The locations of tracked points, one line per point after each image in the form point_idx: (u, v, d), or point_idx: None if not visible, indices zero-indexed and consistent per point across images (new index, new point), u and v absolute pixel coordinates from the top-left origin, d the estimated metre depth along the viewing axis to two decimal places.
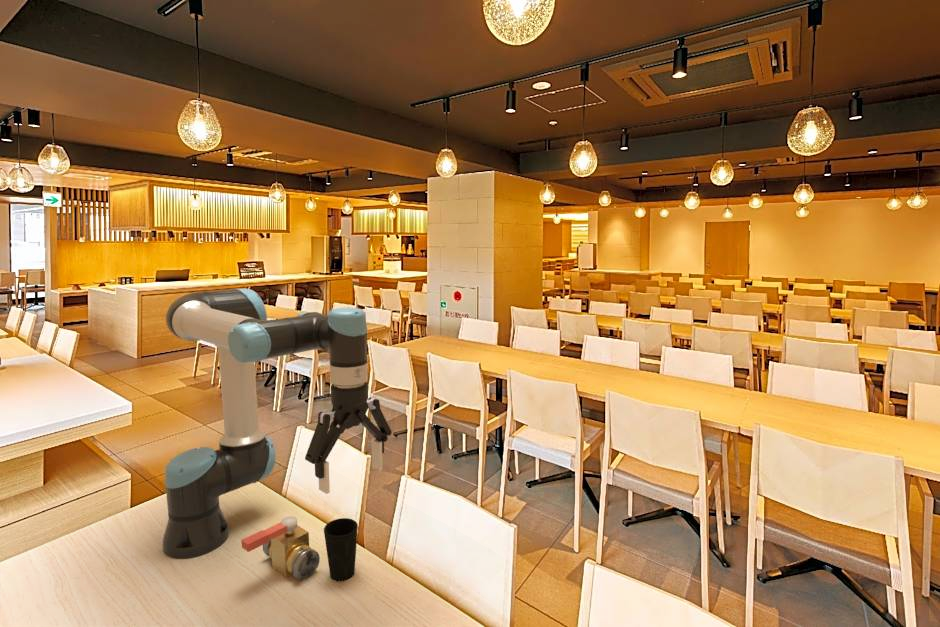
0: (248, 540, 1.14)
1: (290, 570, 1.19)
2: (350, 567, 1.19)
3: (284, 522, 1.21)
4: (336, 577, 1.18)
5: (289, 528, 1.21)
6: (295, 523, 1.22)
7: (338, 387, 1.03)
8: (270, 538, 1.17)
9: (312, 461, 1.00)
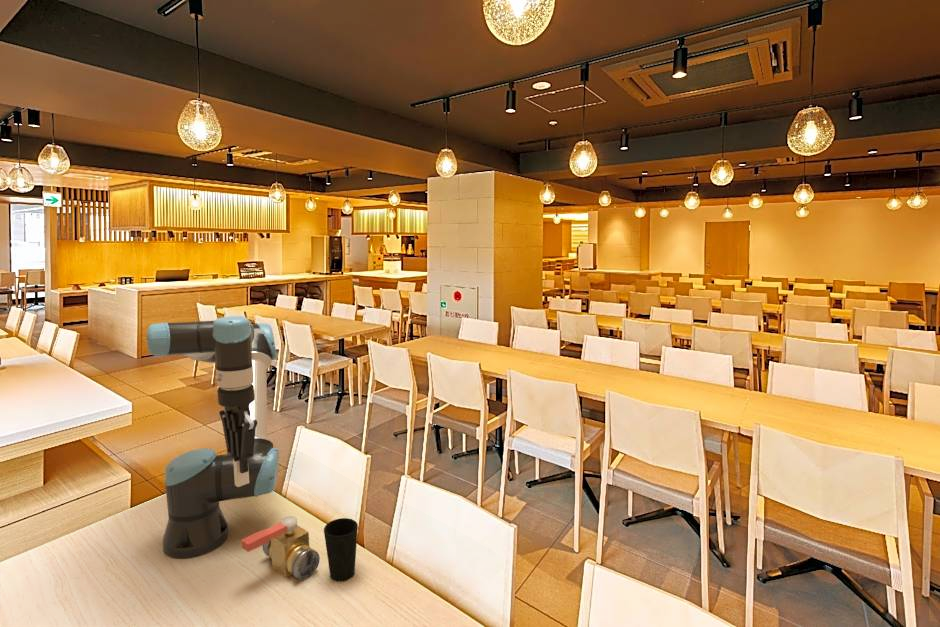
0: (248, 540, 1.14)
1: (290, 570, 1.19)
2: (350, 567, 1.19)
3: (284, 522, 1.21)
4: (336, 577, 1.18)
5: (289, 528, 1.21)
6: (295, 523, 1.22)
7: None
8: (270, 538, 1.17)
9: (227, 450, 1.19)
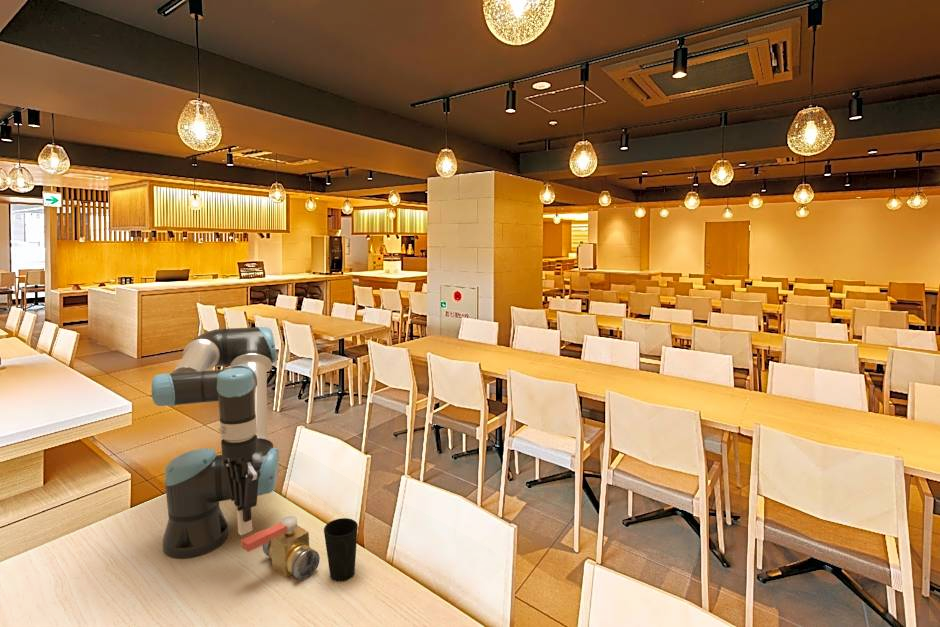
0: (248, 540, 1.14)
1: (290, 570, 1.19)
2: (350, 567, 1.19)
3: (284, 522, 1.21)
4: (336, 577, 1.18)
5: (289, 528, 1.21)
6: (295, 523, 1.22)
7: None
8: (270, 538, 1.17)
9: (231, 499, 1.21)
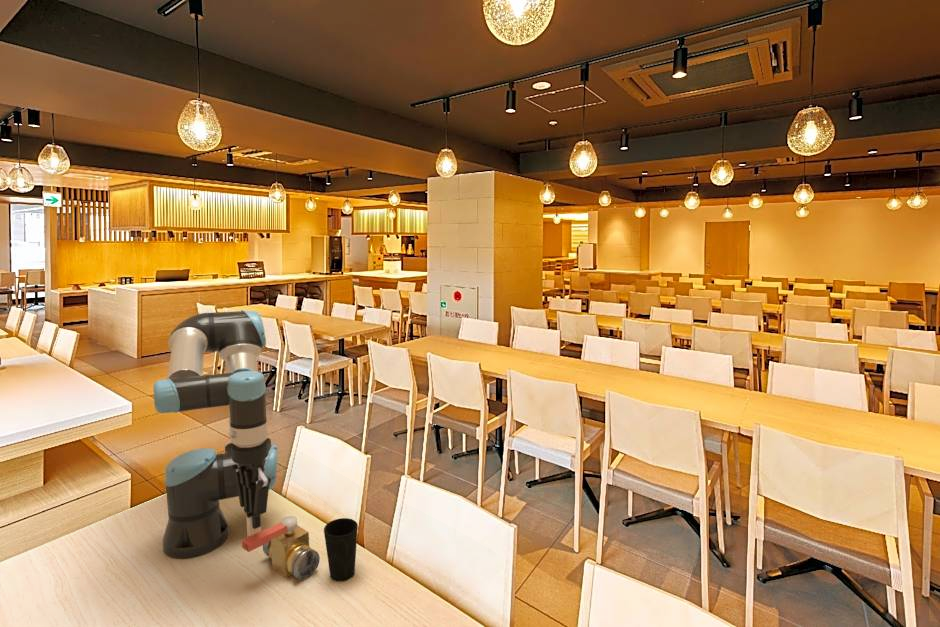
0: (248, 541, 1.14)
1: (290, 570, 1.19)
2: (350, 567, 1.19)
3: (284, 522, 1.21)
4: (336, 577, 1.18)
5: (289, 528, 1.21)
6: (295, 523, 1.22)
7: None
8: (270, 538, 1.17)
9: None
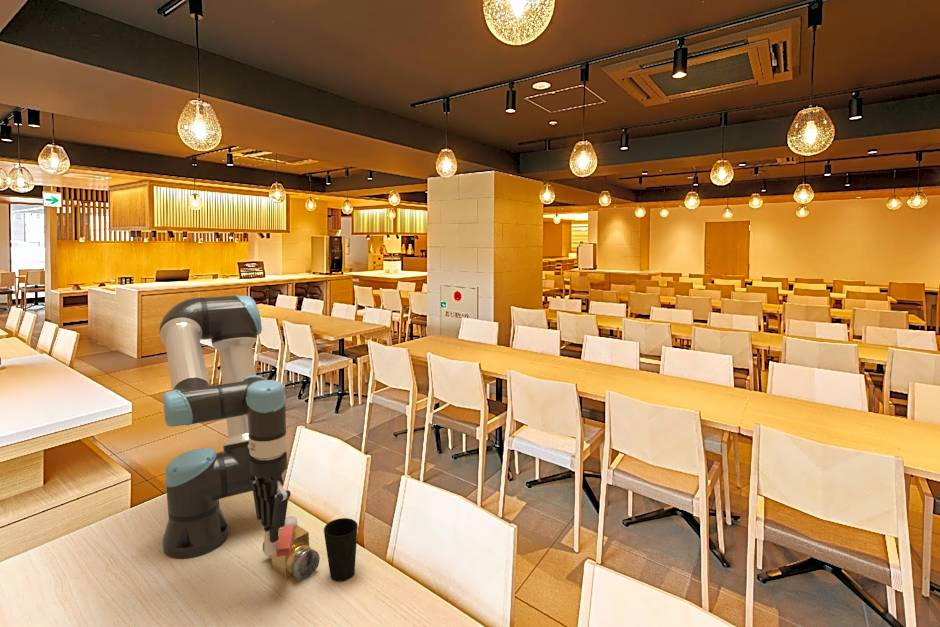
0: (284, 545, 1.12)
1: (290, 570, 1.19)
2: (350, 567, 1.19)
3: (288, 523, 1.21)
4: (336, 577, 1.18)
5: (295, 525, 1.22)
6: None
7: None
8: None
9: None
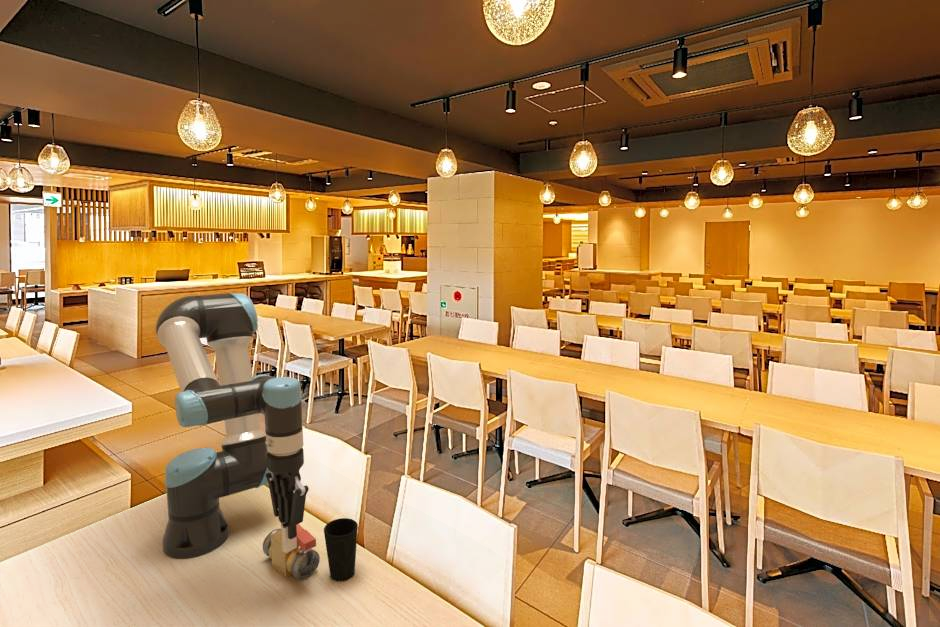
0: (309, 539, 1.15)
1: (290, 570, 1.19)
2: (350, 567, 1.19)
3: None
4: (336, 577, 1.18)
5: None
6: None
7: None
8: None
9: (274, 514, 1.14)
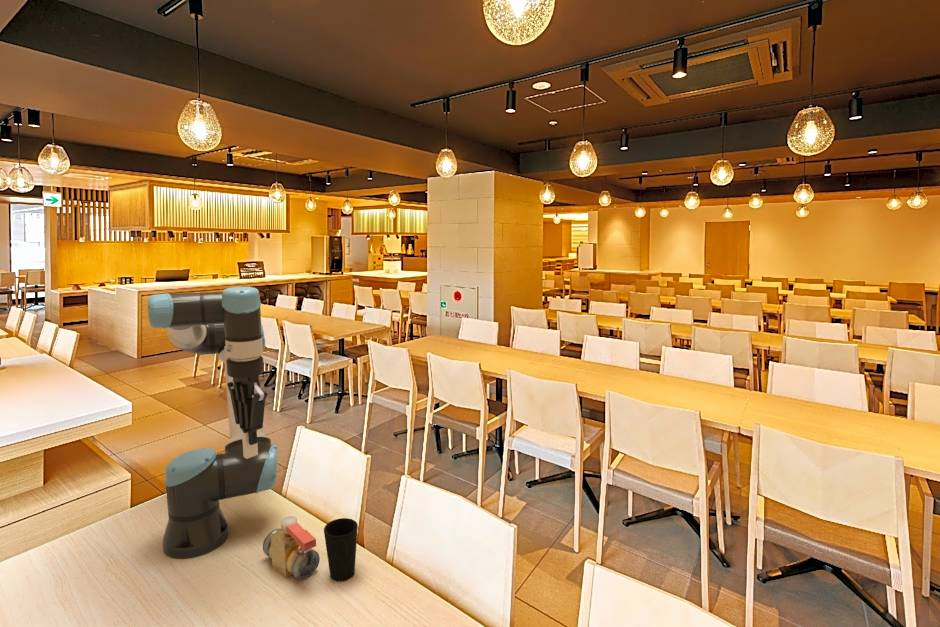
0: (309, 539, 1.15)
1: (290, 570, 1.19)
2: (350, 567, 1.19)
3: (291, 522, 1.21)
4: (336, 577, 1.18)
5: (297, 523, 1.23)
6: None
7: None
8: None
9: (236, 422, 1.18)
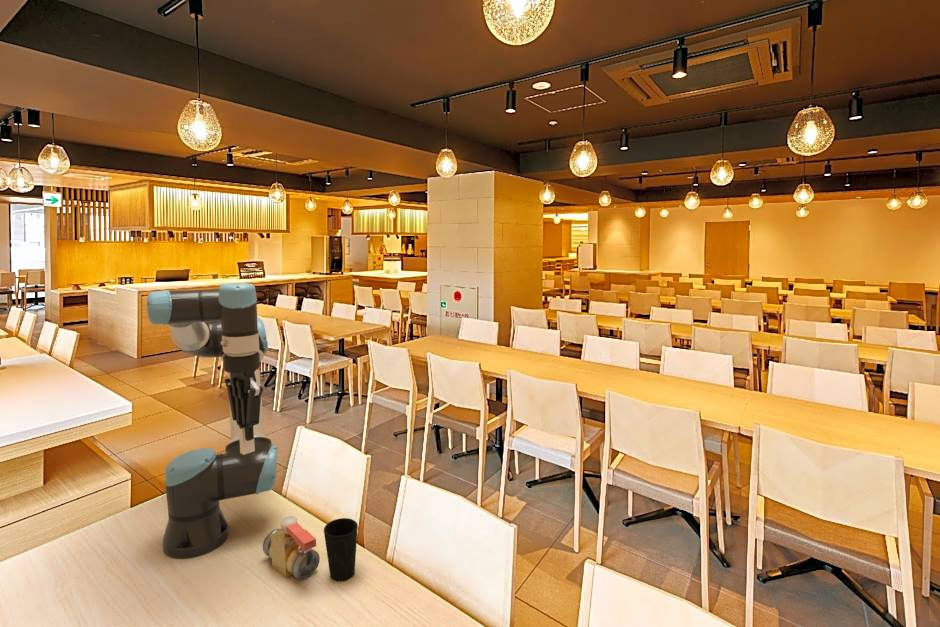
0: (309, 539, 1.15)
1: (290, 570, 1.19)
2: (350, 567, 1.19)
3: (291, 522, 1.21)
4: (336, 577, 1.18)
5: (297, 523, 1.23)
6: None
7: None
8: None
9: (233, 418, 1.19)
